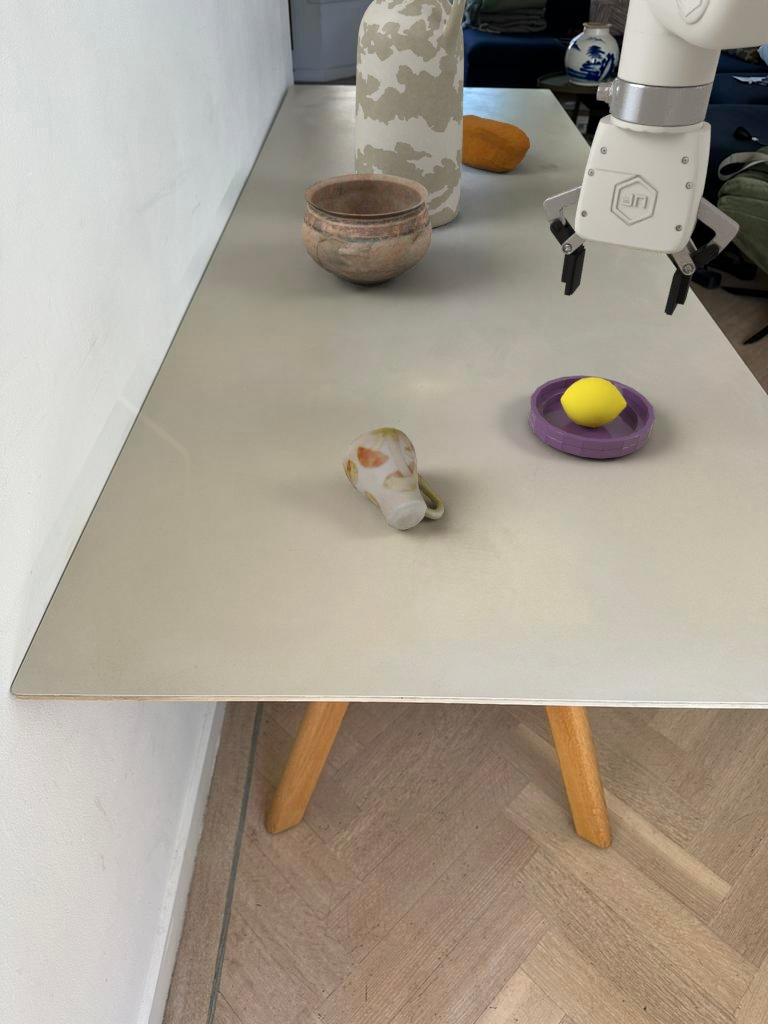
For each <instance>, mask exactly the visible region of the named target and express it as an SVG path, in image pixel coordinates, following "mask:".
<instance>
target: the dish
mask: <svg viewBox="0 0 768 1024" xmlns="http://www.w3.org/2000/svg"><path fill="white" fill-rule="evenodd" d="M591 377H595V378H602V379H604V380H607V381H609V382H611V383H612V384H613V385H614V386H615V387H616V388H617V389H618V391H619V392H620V393H621V395H622V396H623V398H624V400H625V401H626V403H627V404H626V407H625V408H624V409H623V410H622V411H621V413H620V414H619V415H618V416H617V417H616V418H615V419H614V420H613V421H612V422H611V423H608V424H605V425H602V426H598V427H594V428H593V427H587V426H582V425H579V424H576V423H575V422H574V421H572V420H571V419H570V418H569V417H568V415H567V414H566V412H565V410H564V408H563V406H562V404H561V398H562V396H563V394H564V393H565V392H566V390H567V389H568V388H569V387H570V386H571V385H572V384H574V383H575V382H577V381H579V380H580V379H584V378H591ZM528 407H529V408H528V420H527V421H528V424H529V426H530V428H531V430H532V432H533V434H535V435H536V437H538V438H539V439H540V440H541V441H542V442H543V443H545V444H547V445H548V446H550V447H552V448H554V449H556V450H558V451H561V452H564V453H567V454H571V455H574V456H577V457H581V458H591V459H611V458H612V459H613V458H620V457H623V456H626V455H629V454H633V453H635V452H637V451H638V450H640V449H641V448H642V447H643V446H644V445H646V444H647V443H648V441H649V438H650V436H651V433H652V429H653V426H654V423H655V418H656V416H655V410H654V407H653V405H652V404H651V403H650V401H649V400H648V399H647V397H646V396H644V395H643V394H642V393H640V391H638V390H636V389H635V388H633V387H631V386H629V385H627V384H624V383H622V382H619V381H617V380H613V379H609V378H605V377H600V376H593V375H592V376H591V375H569V376H560V377H557V378H555V379H554V378H553V379H550V380H547V381H546V382H544V383H543V384H541V385H539V386H537V388H536V389H535V390H534V392H533V394H531V396H530V401H529V406H528Z"/></svg>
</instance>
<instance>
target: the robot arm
mask: <svg viewBox="0 0 768 1024" xmlns="http://www.w3.org/2000/svg"><path fill="white" fill-rule="evenodd" d="M766 45H768V0H629V3H628V9H627V15H626V21H625V26H624V33H623V39H622V45H621V46H622V47H621V52H620V57H619V63H618V70H617V71H618V72H617V76H615V78H614V80H612V81H608V82H599V83H598V86H597V90H596V101H601V102H604V103H605V104H608V108H609V112H608V113H609V114H608V115H605V116H603V117H602V118H600V120H599V122H598V125H597V127H596V130H595V134H594V136H593V140H592V143H591V146H590V151H589V154H588V157H587V161H586V166H585V170H584V174H583V178H582V183H581V184H578V185H575V186H573V187H570V188H568V189H566V190H562V191H559V192H556V193H554V194H552V195H549V196H548V197H547V198H546V199H545V200H544V201H543V203H542V207H543V210H544V213H545V216H546V218H547V222H548V223H549V230H550V232H551V234H552V236H553V237H554V238H555V239H556V241H557V242H558V243H559V245H560V249H561V252H562V253H563V254H564V257H563V263H562V264H563V265H562V272H561V279H560V282H561V283H564V284H565V286H564V292H563V295H564V296H568V297H570V296H572V295H574V294H575V292H576V291H577V289H578V288H579V287H580V286H581V281H582V275H583V269H584V263H585V256H586V251H587V250H586V248H585V245H584V243H585V242H586V241H587V242H592V243H596V244H601V245H606V246H612V247H618V248H623V249H630V250H636V251H642V252H649V253H654V254H663V255H671V256H672V257H673V259H674V261H675V263H676V265H677V267H676V269H675V271H674V273H673V276H672V279H671V283H670V287H669V291H668V295H667V300H666V305H665V308H664V313H665V315H666V316H673V314H674V313H675V312H674V311H675V310H676V308H677V306H678V305H681V306H684V305H685V303H686V301H687V299H688V294H689V290H690V286H691V282H692V278H693V276H694V273H695V272H696V271H697V270H699V269H700V268H702V267H703V266H705V265H706V264H708V263H711V261H713V260H715V259H716V258H717V257H718V255H720V253H722V252H723V250H724V249H725V248H727V246H728V245H729V244H730V242H731V241H732V240H733V239H734V238H735V237H736V236H737V234H738V233H739V231H740V225H739V223H738V222H736V221H735V220H734V219H733V218H731V217H730V216H728V215H727V214H726V213H725V212H723V211H722V210H721V209H719V208H718V207H716V206H715V205H714V204H713V203H711V202H710V201H709V200H708V199H706V198H705V197H703V194H704V189H705V184H706V180H707V179H706V178H707V173H708V165H709V159H710V158H709V157H710V149H711V137H712V136H711V134H712V133H711V132H712V131H711V130H712V129H711V128H712V125H711V124H710V123H709V122H707V121H705V118H706V115H707V110H708V106H709V102H710V97H711V93H712V90H713V85H714V80H715V76H716V72H717V67H718V64H719V60H720V57H721V52H722V50H734V49H744V48H754V47H760V46H766ZM573 204H577V207H576V211H575V219H574V227H573V226H572V225H571V223H570V222H569V221H568V219H567V218H566V216H565V215H564V214H565V213H564V208H566V207H568V206H571V205H573ZM698 220H699V221H701V222H702V223H703V224H704V225H706V226H707V227H708V228H710V230H712V231H714V233H715V235H714V237H713V238H712V239H711V240H710V241H709V242H707V243H705V244H704V245H702V246H701V247H700V248H697V246H696V245H695V243H694V241H693V239H692V238H691V236H692V234H693V233H694V231H695V228H696V226H697V223H698Z"/></svg>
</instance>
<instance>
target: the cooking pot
mask: <svg viewBox="0 0 768 1024" xmlns="http://www.w3.org/2000/svg"><path fill="white" fill-rule="evenodd" d="M304 198H305V201H306V202H307V205H306V208H305V211H304V215H303V220H302V224H301V237H302V238H301V239H302V242H303V245H304V247H305V250H306V252H307V254H308V255H309V257H310V259H312V261H313V262H315V264H317V266H319V267H320V268H321V269H323V270H325V271H326V272H327V273H330V274H332V275H333V276H336V277H339V278H341V279H343V280H346V281H348V282H349V283H351V284H354V285H359V286H375V285H381V284H383V283H386V282H387V281H388V280H391V279H393V278H396V277H398V276H400V275H402V274H405V273H406V272H408V271H410V270H411V269H412V268H414V267H415V266H416V265H417V264H418V263H419V262H420V261H421V260H423V257H424V256H425V255H426V253H427V251H428V249H429V247H430V245H431V241H432V235H433V228H432V226H431V221H430V217H429V213H428V210H427V207H426V205H425V200H426V199H427V198H428V191H427V189H426V188H425V187H424V186H423V185H421V184H419V183H417V182H415V181H413V180H410V179H407V178H403V177H398V176H392V175H384V174H355V173H354V174H344V175H338V176H332V177H328V178H325V179H322V180H319V181H317V182H314V183H313V184H311V185H309V186H308V187H307V188H306V189H305V191H304Z"/></svg>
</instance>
